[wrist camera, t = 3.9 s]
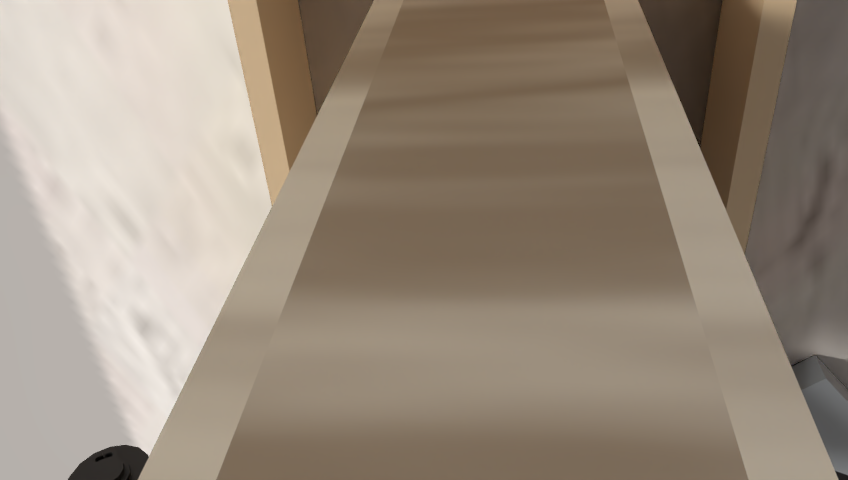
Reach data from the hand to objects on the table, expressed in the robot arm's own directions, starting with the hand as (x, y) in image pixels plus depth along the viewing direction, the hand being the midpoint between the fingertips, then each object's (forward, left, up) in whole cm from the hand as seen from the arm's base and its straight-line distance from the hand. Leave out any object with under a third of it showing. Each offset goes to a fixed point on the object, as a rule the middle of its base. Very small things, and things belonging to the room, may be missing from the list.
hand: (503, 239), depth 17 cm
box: (-1, -1, -4) cm, 4 cm away
